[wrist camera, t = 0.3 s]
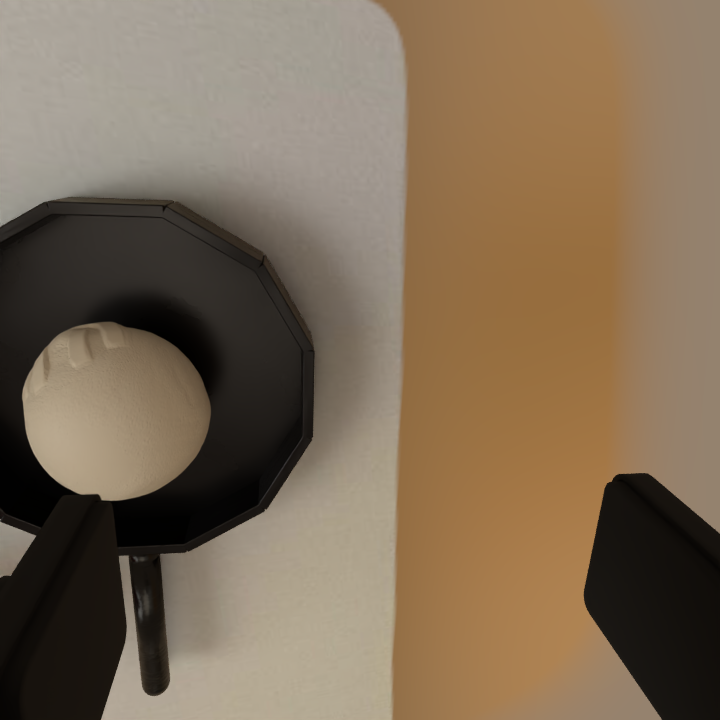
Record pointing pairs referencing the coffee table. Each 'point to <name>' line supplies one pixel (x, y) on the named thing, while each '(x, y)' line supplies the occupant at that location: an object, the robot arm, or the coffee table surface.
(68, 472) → the scored bread roll
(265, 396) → the pan
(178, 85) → the coffee table surface
